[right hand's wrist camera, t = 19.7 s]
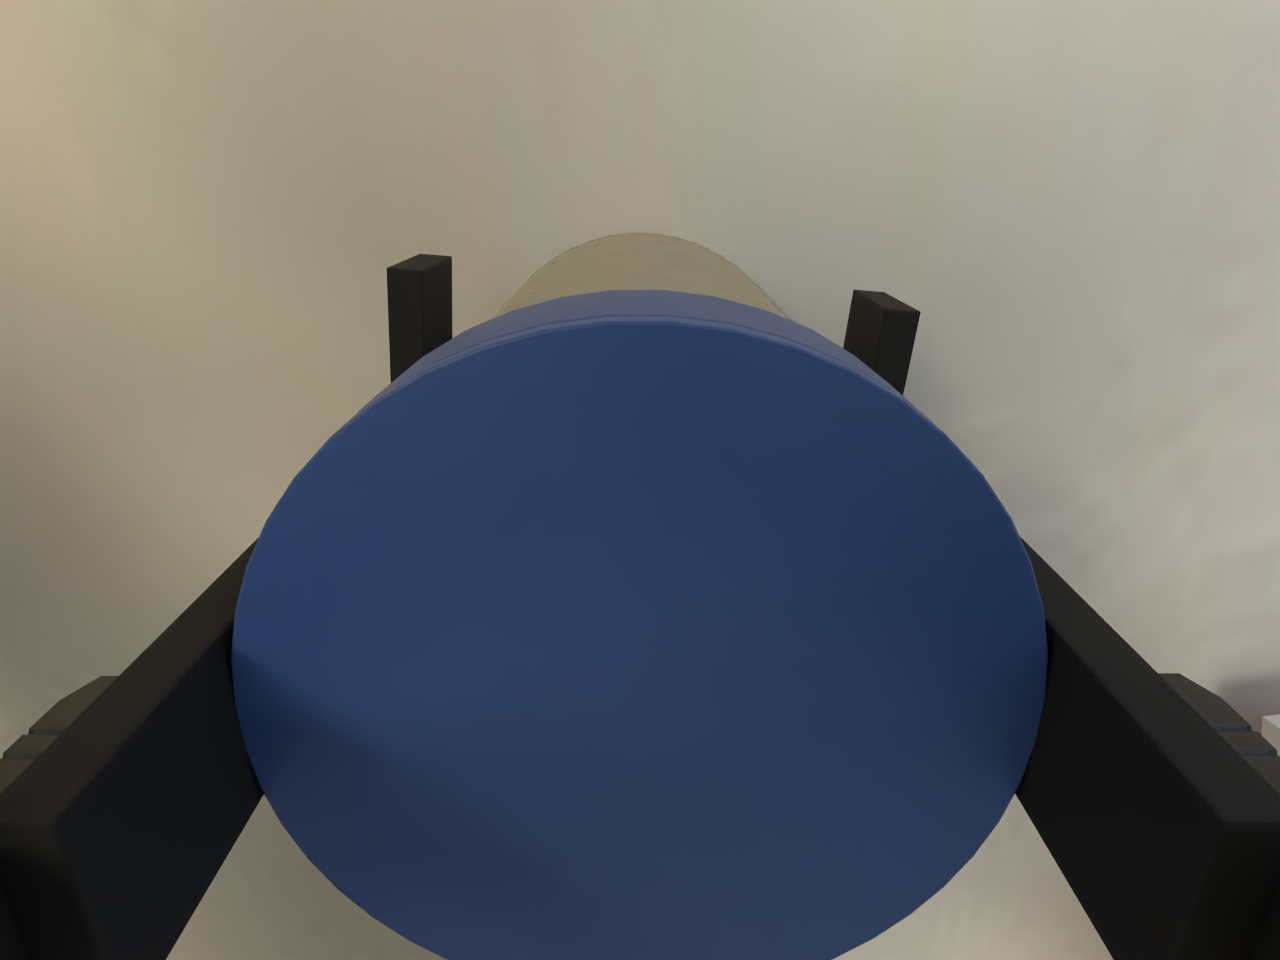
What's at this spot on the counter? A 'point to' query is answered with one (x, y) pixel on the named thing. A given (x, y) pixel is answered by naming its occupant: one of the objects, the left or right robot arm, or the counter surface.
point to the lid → (639, 643)
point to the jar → (639, 272)
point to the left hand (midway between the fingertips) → (654, 281)
